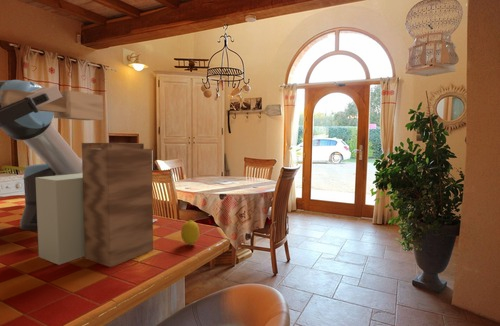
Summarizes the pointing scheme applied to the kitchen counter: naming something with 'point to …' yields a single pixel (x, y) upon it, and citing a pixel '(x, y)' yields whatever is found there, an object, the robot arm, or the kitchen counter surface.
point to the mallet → (64, 104)
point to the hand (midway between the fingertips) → (53, 91)
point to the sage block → (60, 217)
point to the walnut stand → (117, 201)
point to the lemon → (190, 232)
